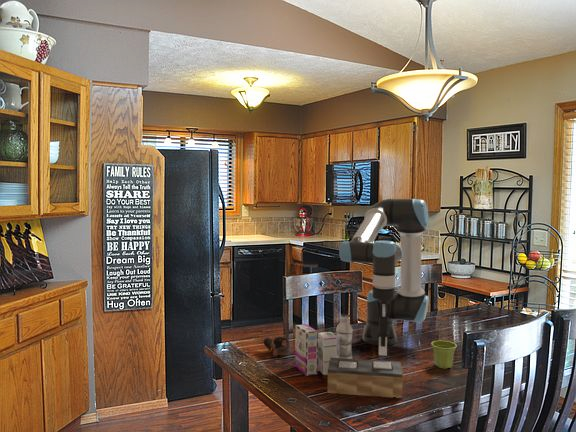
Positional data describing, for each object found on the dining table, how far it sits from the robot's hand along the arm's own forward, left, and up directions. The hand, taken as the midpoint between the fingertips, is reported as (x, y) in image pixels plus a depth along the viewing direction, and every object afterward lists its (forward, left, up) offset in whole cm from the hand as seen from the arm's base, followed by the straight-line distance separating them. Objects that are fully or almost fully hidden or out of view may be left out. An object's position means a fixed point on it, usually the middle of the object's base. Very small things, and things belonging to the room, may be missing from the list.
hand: (382, 354), depth 172 cm
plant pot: (-27, +24, -12) cm, 38 cm away
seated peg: (0, -12, -12) cm, 17 cm away
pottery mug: (-30, -43, -13) cm, 54 cm away
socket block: (0, -6, -12) cm, 14 cm away
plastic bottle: (-19, -14, -12) cm, 26 cm away
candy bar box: (-13, -28, -12) cm, 33 cm away
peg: (0, 0, -12) cm, 12 cm away
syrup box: (-13, -20, -12) cm, 27 cm away
